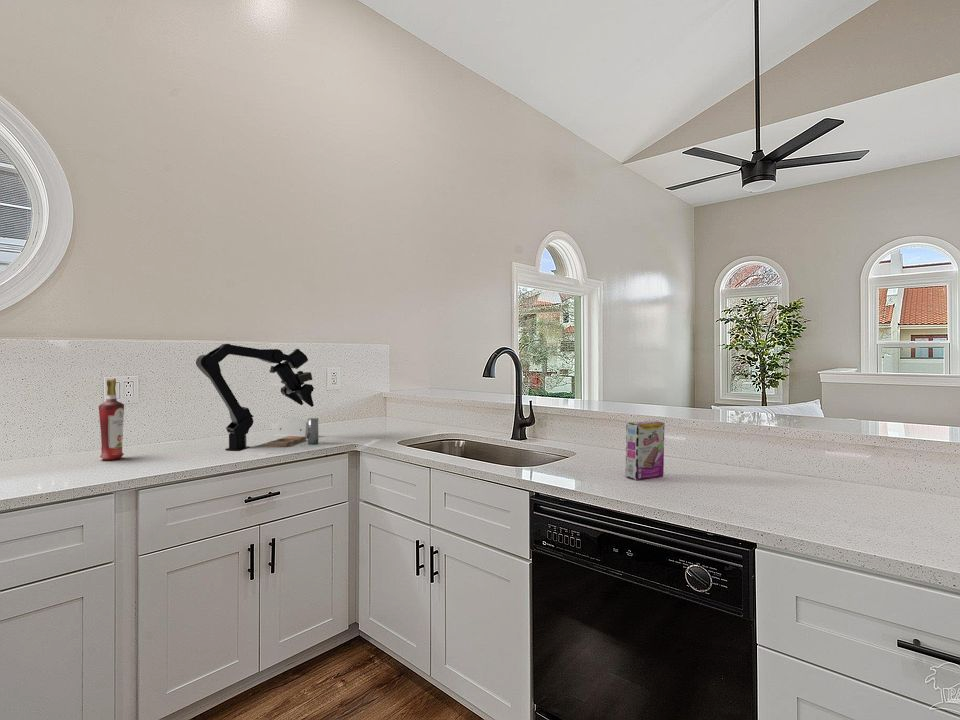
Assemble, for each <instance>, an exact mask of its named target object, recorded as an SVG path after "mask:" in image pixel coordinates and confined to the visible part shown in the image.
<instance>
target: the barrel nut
mask: <svg viewBox="0 0 960 720" xmlns="http://www.w3.org/2000/svg"><path fill="white" fill-rule="evenodd" d="M307 422H308V438H307V442H308V445H316V444H318V442H319V418H316V417H310V418H309V417H308V418H307Z"/></svg>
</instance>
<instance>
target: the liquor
mask: <svg viewBox="0 0 960 720" xmlns="http://www.w3.org/2000/svg"><path fill="white" fill-rule="evenodd" d="M116 386H117V379H116V378H108V379H106V388H107V390H106V400H105V401H104V402H102V403H100V404H99V405H98V414H99V415H98V418H99V419H98V420H99V430H100V445H101V446H100V448H101V451H100V452H101V454H100V456H99V457H100V458H101V459H103V460H104V461H116V459H117V460H119V459H121V458H122V457H123V456H124V455H125V454H124V453H123V438H124V419H125V417H124V416H125V404H124V403H122V402H120V401H117V400H118V399H117V392H116Z"/></svg>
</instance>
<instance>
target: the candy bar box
mask: <svg viewBox="0 0 960 720" xmlns="http://www.w3.org/2000/svg"><path fill="white" fill-rule="evenodd" d="M625 439H626V441H625V442H626V443H625V478H627V479H631V480H634V481H642V480H647V479H648V480H649V479H654V478H661V477H662V478H663V477H664V469H665V464H664V463H665V461H664V459H665V422H662V421H657V420H648V421H632V422H631V421H630V422H626V436H625Z"/></svg>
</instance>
